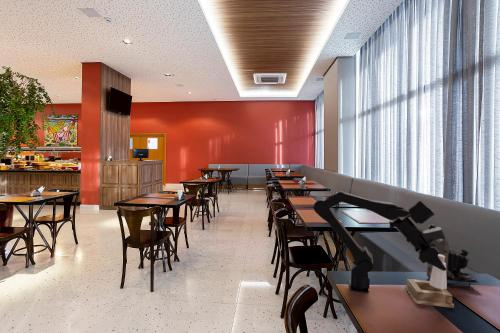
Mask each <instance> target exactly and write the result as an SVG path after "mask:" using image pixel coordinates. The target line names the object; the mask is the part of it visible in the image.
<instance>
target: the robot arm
mask: <svg viewBox="0 0 500 333" xmlns="http://www.w3.org/2000/svg"><path fill="white" fill-rule="evenodd" d="M340 203H344V204H348V205H350V206H354V207H358V208H361V209H365V210H368V211H371V212H373V213H375V214H377V215H379V216H380V217H382V218H385V219H386V220H389V221H388V224H389V226H388V228H389V230H393V229H394V228H395V229H397V231H398V232H399V233H400V235H402V236H403V238H405V241H406V242H407V243H409V244H410V245H411V247H413V248H414V250H415V252H417V257H418V259H419V261H420V262H421V264H425V263H427V264H428V263H429V264H431V265H433V266H435V267H437V268H439V269H441V270H443V271H445V270H446V268H445V266H444V265H443V263H442V262H441V260H440V259H439V257H438V254H439V251H438V249H436V248H435V244H434V243H433V244H431V243H432V242H433V240H438V239H444V238H445V239H446V235H445V233H444V231H443V228H442V227H440V226H435V225H434V224H432V223H431V224H429V225H428V227H427V228H428V229H425V230H422V229H421V228H419V227H418V226H417V225H416V224H419V225H420V224H421V225H422V224H424V223H425V222H427V221H428V220H430V219H431V218H433V217H434V216H435V215H436V214H435V212H434V211H432V210H431V209H430V208H429V207H428V206H426V204H424V202H422V200H419V199H418V200H417V201H416V202H415V203H414V204H412V206H409V208H405V207H403V206H398V205H397V204H396V203H395V202H392V201H383V200H374V199H370V198H369V199H368V198H365V197H363V196H358V195H355V194H351V193H348V192H345V191H342V190H338V191H337V192H336V193H334V194H332V195H330V196H328V197H326V198H319V199H317V201H316V202H315V203H314V204H313V210H314V212H315V213H316V214H317V215H318V216H319V217H320V218H321V219H322V220H323V221H325V222H326V223H328V225H329V226H330V227H331V228H332V230H333V231H334V233H335V234H336V235H337V236H338V238H339V239H340V240H341V242H342V243H343V244H344V245H345V247H346V248H347V249H348V251H349V252H350V255H351V256H352V259H353V261H352V262H351V267H350V268H351V269H350V271H349V282H348V285H349V286H348V287H349V289H350V291H355V292H363V293H369V292H370V290H369V289H370V285H371V284H370V281H371V278H370V276H369V273H370V272H371V271H372V270H373V269H374V259H373V253H371V251H369V249H368V248H367V246H366V245H364V246H363V247H362V246H360V245H359V244H358V242H357V241H356V240H355V239H354V237H353V236H352V235H351V233H350V232H349V231H348V230H347V229H346V227H345V226H344V224H343V223H342V222H341V221H340V220H339V218H338V217H337V215H336V214H335V211H334V209H333V207H335V206H336V205H338V204H340ZM409 217H410V218H411V219H410V218H409ZM430 244H431V245H430Z"/></svg>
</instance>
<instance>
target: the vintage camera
mask: <svg viewBox="0 0 500 333" xmlns="http://www.w3.org/2000/svg"><path fill="white" fill-rule="evenodd" d="M433 243H434V244H435V248H436V249H438V251H439V254H441V255H444V256H445V261H444V262H445V263H446V280H447V281H451V282H458V283H461V282H462V283H468V286H469V287H471V284H473V283H474V284H480V282H479V281H477V279H476V278H474V277H472V276H471V275H470V274H469V273H468V272H462V271H461V270H464V269H466V268H467V266H468V263H469V261H470V259H467V256H468V254H469V251H467V250H466V249H463V248H462V249H461V252H460V253H458V252H456V251H454V250H451V249H450V242H449V240H448V239H446V237H445V238H444V239H438V240H433V242H432V243H431V244H433ZM431 244H430V245H431ZM426 266H427V267H426V276H427V278H428V279H429V280H430V278H431V273H432V268H433V265H431V264H429V263H427V265H426Z"/></svg>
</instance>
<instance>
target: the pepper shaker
mask: <svg viewBox="0 0 500 333" xmlns="http://www.w3.org/2000/svg"><path fill="white" fill-rule="evenodd" d="M438 257H439V259H440V260H441V262H442V263H443V265H444V266H445V268H446V263H445V262H444V261H445V256H444V255H441V254H438ZM429 281H430V285H431V286H433V287H435V288H439V289H446V290H447V288H448V287H447V286H448V284H447V281H448V280H446V270H445V271H443V270H441V269H439V268H437V267H435V266H433V268H432V273H431V278H430V279H429Z"/></svg>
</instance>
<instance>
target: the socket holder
mask: <svg viewBox="0 0 500 333" xmlns="http://www.w3.org/2000/svg"><path fill="white" fill-rule="evenodd" d="M404 289H405V290H406V292H407V291H408V292H407V293H408V294H410V295H409V296H410V298H411V299H412V300H413V303H415V304H420V305H426V306H427V305H428V306H433V307H435V306H437V307H444V308H449V309H451V308H452V309H454V308H455V304H454V303H453V295H452V293H450V291H448V290H447V289H439V288H435V287H433V286H431V285H430V280H424V279H422V280H421V279H414V278H413V279H411V278H407V279H406V285H404Z"/></svg>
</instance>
